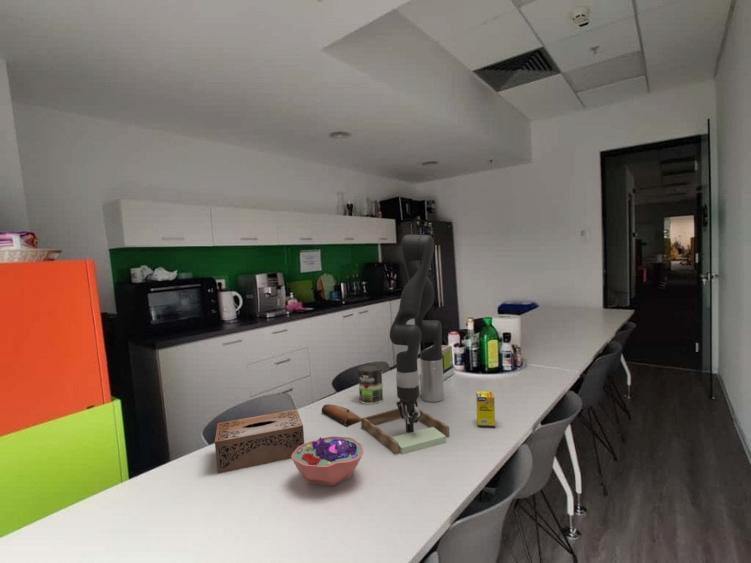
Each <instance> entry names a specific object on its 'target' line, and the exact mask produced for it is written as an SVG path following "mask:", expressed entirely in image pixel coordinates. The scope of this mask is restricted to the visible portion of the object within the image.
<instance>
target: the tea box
mask: <svg viewBox="0 0 751 563" xmlns="http://www.w3.org/2000/svg"><path fill="white" fill-rule="evenodd" d="M432 346H433V345H431V346H429V347H427V348H426V349H428V348H430V347H432ZM453 358H454V357H453V346H452V345H447V344H445V345H444V344H442V362H443V382H444V381H445V380H447V379H448V378H450V377H451V376H453V375H454V361H453V360H454V359H453Z"/></svg>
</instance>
